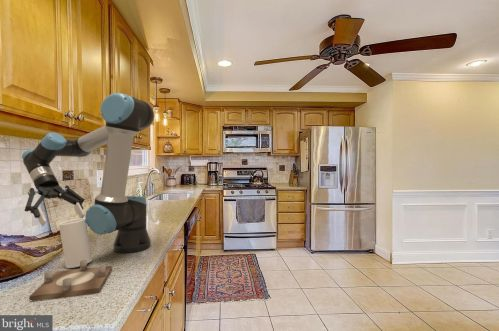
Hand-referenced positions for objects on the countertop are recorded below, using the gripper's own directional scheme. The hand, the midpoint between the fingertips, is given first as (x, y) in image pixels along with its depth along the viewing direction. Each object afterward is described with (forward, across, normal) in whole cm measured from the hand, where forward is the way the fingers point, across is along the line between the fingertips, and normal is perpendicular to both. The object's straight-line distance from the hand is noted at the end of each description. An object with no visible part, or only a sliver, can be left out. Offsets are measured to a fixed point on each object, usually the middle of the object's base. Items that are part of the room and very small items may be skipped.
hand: (64, 219), depth 101 cm
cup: (+18, 0, -4) cm, 18 cm away
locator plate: (+28, +9, +6) cm, 31 cm away
